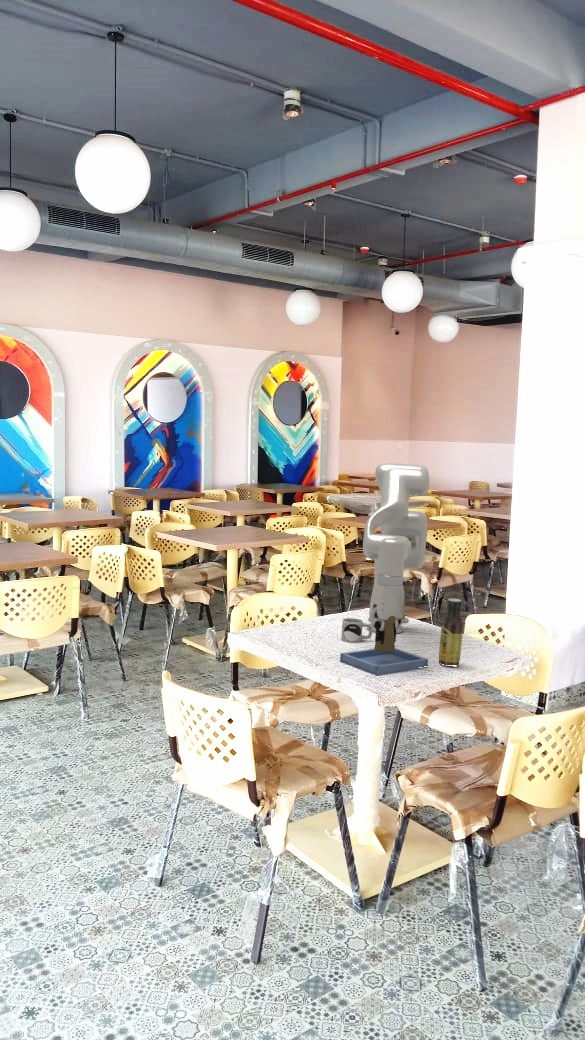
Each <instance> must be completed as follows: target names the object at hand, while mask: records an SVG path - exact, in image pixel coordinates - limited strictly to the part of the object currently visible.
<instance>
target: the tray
mask: <svg viewBox="0 0 585 1040" xmlns="http://www.w3.org/2000/svg"><path fill="white" fill-rule="evenodd" d="M339 654H340V657H339V662H341V663H343V664H346V665H348V666H351V667H353V668H356V669H358V670H361V671H364V672H367V673H370V674H372V675H374V674H375V676H381V674H383V675H388V673H389V674H394V673H395V672H396V673H401V672H400V671H402V672H406V671H405V670H408V671H411V670H410V669H414V668H419V667H424V666H428V665H429V658H426V657H422V656H420V655H416V654H413V653H410V652H407V651H404V650H402V649H398V648H396V647H395V651H394V652H380V651H376V650H375V649H374V648H372V649H371V648H370V649H364V650H355V651H348V652H342V653H339ZM428 667H429V666H428ZM414 670H415V669H414Z"/></svg>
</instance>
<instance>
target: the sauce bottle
mask: <svg viewBox="0 0 585 1040" xmlns="http://www.w3.org/2000/svg"><path fill="white" fill-rule="evenodd" d="M446 604H447V610H446V614H445V617H444V619H443V621H442V623H441V628H440V639H439V650H438V651H439V652H438V664H439V663H441V664H444V665H458V664H460V661H461V651H462V641H463V640H462V639H463V627H464V623H463V619H462V617H461V607H462V600H461V599H459V598H448V599H447V603H446ZM441 664H440V665H441ZM458 666H459V665H458Z"/></svg>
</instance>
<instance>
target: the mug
mask: <svg viewBox="0 0 585 1040" xmlns="http://www.w3.org/2000/svg"><path fill="white" fill-rule="evenodd" d="M341 621H342V625H341V637H340V638H341V640H340V641H342V642H345V643H351V644H356V643H357V644H359V643H361V642H362V641H363V640H368V639H371V638H372V636H373V631H372V625H370V623H366V622H364V621H363V620H362V619H358V618H355V617H354V618H352V617H349V618H348V617H347V618H343V619H342V620H341ZM367 627H368V628H369V630H368V635H365V634H364V635H363V628H367Z"/></svg>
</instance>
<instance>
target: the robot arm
mask: <svg viewBox="0 0 585 1040" xmlns="http://www.w3.org/2000/svg"><path fill="white" fill-rule="evenodd" d="M374 473H375V475H374V476H375V481H376V483H377V487H378V489H379V491H380V495H381V499H380V507H378V509H376V510H375V511H374V512H373V513H372V514H371V515H370V517H369V518H368V519H367V521H366V523H365V525H364V528H363V529H364V531H363V540H362V551H363V555H364V556H365V557H366V558H368V559H371V560H374V583H373V588H372V592H371V597H370V604H369V610H368V611H369V613H368V614H369V615H368V618H367V621H368V622H369V624H370V625H372V632H374V633H375V636H374V637H375V638H374V642H375V643H376V642H377V641H381V644H383V643H384V635H385V631H383V629H384V624H385V622H384V620H387V619H388V618H389V617H390V616H395V618H396V621H395V623H394V624H393V626H394V642H395V643H396V641H397V634H400V633H403V632H404V627H403V626H402V625H403V624H408V623H409V622H410V620H409V618H408V617H406V615H405V588H404V580H405V576H404V570H405V569H406V570H420V569H421V568H423V566H424V564H425V558H426V550H427V549H426V546H427V534H428V533H427V531H428V519H427V516H426V515H425V513H424V512H422V511H417V510H409V502H410V500H409V497H410V496H418V497H419V496H420V497H421V496H423V497H424V496H426V495H427V493H429V492H428V491H429V490H430V489H429V488H430V474H429V470H428V468H427V466H425V465H418V464H404V463H391V462H390V463H389V462H388V463H380V464H378V465H377V466H376V467H375V472H374ZM379 527H380V528H379ZM378 528H379V530H380V533H374V532H375V530H376V529H378ZM410 539H411V541H410ZM379 621H380V622H381V623H380V624H379ZM366 628H367V630H368V631H369V628H368V627H366Z"/></svg>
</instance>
